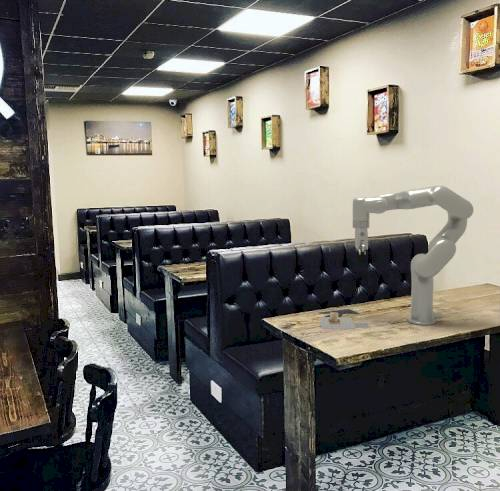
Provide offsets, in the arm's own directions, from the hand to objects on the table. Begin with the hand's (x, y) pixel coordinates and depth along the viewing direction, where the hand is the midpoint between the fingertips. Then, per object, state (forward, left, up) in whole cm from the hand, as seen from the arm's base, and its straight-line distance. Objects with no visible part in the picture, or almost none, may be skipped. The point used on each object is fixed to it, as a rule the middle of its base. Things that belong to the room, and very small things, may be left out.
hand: (360, 261), depth 234 cm
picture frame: (+9, -9, -29) cm, 32 cm away
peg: (+13, +12, -28) cm, 33 cm away
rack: (+9, +12, -28) cm, 32 cm away
